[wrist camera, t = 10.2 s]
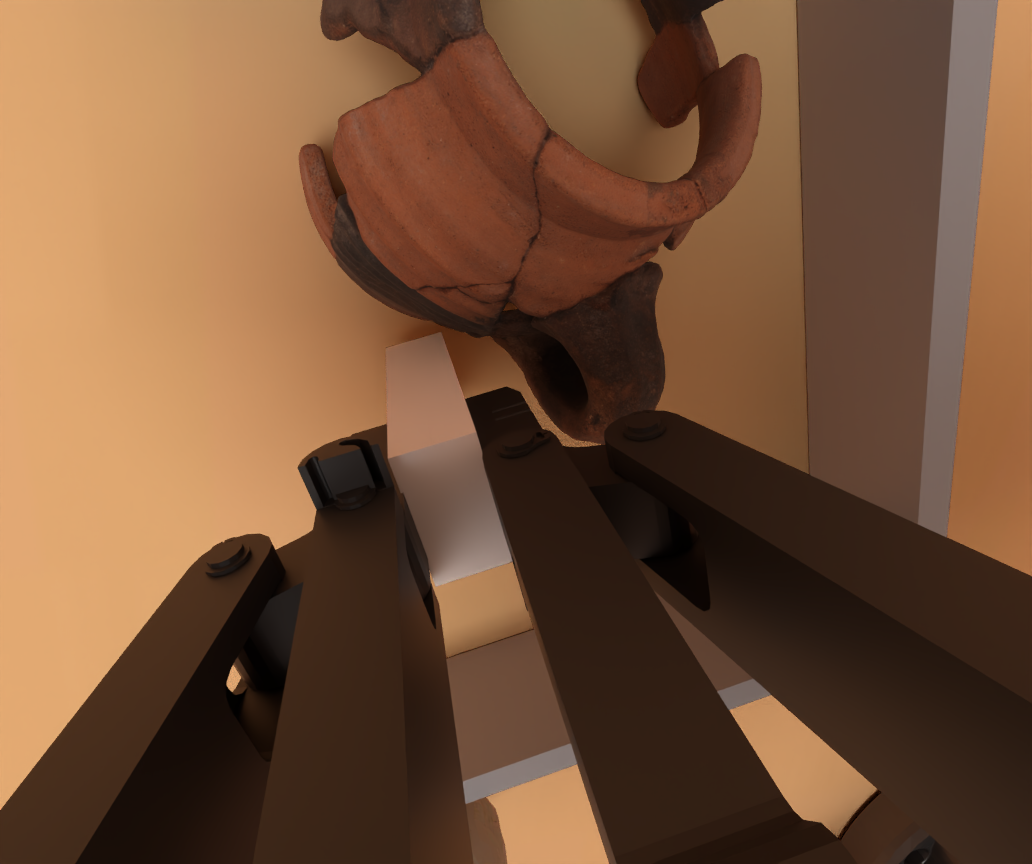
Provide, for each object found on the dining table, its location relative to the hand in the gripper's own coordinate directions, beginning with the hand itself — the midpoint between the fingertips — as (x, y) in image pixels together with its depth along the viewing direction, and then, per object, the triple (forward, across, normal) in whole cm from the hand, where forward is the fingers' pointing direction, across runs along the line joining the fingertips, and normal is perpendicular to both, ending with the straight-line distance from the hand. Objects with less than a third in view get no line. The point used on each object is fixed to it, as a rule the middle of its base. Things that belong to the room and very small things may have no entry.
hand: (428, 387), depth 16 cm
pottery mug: (+2, -4, -4) cm, 6 cm away
